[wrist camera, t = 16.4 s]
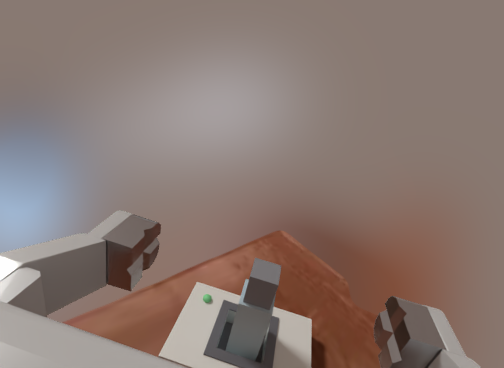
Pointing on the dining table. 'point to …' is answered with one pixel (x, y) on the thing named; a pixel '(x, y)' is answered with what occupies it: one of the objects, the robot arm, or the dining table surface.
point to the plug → (254, 310)
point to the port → (218, 331)
